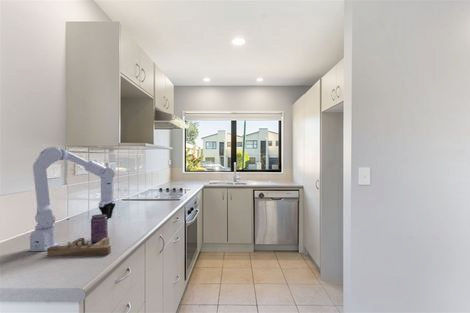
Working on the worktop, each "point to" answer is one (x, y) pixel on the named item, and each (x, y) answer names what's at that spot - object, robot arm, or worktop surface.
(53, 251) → the pin nest
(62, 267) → the worktop surface
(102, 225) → the beverage can
